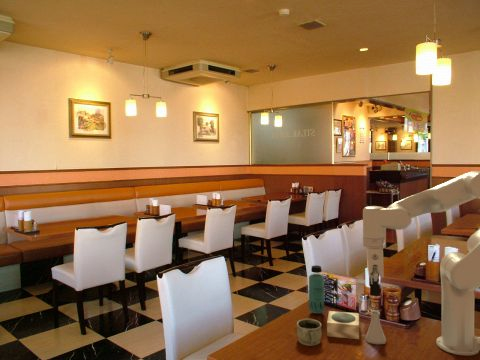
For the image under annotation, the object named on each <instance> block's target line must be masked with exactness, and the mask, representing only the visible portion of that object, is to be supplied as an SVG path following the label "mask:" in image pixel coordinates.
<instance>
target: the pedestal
mask: <svg viewBox="0 0 480 360" xmlns="http://www.w3.org/2000/svg"><path fill="white" fill-rule="evenodd" d="M326 329H327V330H326V331H327V332H326V333H327V337H333V338H344V339H345V338H346V339H353V340H360V313H358V312H347V311H346V312H345V311H334V310H333V311H332V310H328V315H327V321H326Z"/></svg>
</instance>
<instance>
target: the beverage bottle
mask: <svg viewBox="0 0 480 360" xmlns="http://www.w3.org/2000/svg"><path fill="white" fill-rule="evenodd" d="M310 270H311V272H312V273H311V274H309V276H308V311H309V312H311V313H313V314H322V313H324V312H325V308H326V307H325V305H326V304H325V296H326V295H325V277H324V275H323V274H322V267H321V266H320V265H315V264H314V265H311V269H310Z"/></svg>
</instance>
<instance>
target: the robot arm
mask: <svg viewBox="0 0 480 360" xmlns="http://www.w3.org/2000/svg"><path fill="white" fill-rule="evenodd" d="M475 199H480V170H471V171H469V172H466V173H463V174H461V175H458V176H457V177H454V178H452V179H449V180H448V181H445V182H444V183H440V184H438V185H436V186H434V187H432V188H429V189H425V190H423V191H421V192H418V193H415V194H412V195H410V196H407V197H405V198H403V199H401V200H398V201H395V202H394V203H392V204H390V205H388V206H387V207H386V208H385V207H383V206H379V205H378V206H377V205H370V206H368V205H367V206H365V207H364V208H363V209H362V246H363V247H364V248H366V267H367V272H368V286H369V294H370V296H371V297H380V296H381V283H380V278H384V250H383V249H386V248H387V229H391V230H396V231H398V230H399V231H400V230H401V231H402V230H406V229H407V228H409V227H410V225H411V224H412V220H413V219H414V218H417V217H419V216H421V215H426V214H429V213H430V214H431V213H432V214H433V213H443V212H446V211H450V210H451V209H453V208H456V207H458V206H461V205H463V204H466V203H467V202H468V203H469V202H470V201H472V200H475ZM466 247H467V251H468V253H466V254H464V253H462V252H458V251H452V252H449V253H447V254H445V255H444V256H443V257H442V258H441V260H440V263H439V275H440V283H441V284H440V285H441V336H439V337H437V338H436V341H435V342H436V346H437V347H439V348H440V349H441V350H443V351H444V352H447V353H449V354H450V353H451V354H452V355H458V356H470V357H471V356H475V355H477V354H480V353H479V352H480V336H476V335H475V290H477V289H479V288H480V228H478V229H477V230H476V231H475V232H474V233H472V235H470V236H469V238H467V241H466Z"/></svg>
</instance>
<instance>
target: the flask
mask: <svg viewBox="0 0 480 360" xmlns="http://www.w3.org/2000/svg"><path fill="white" fill-rule="evenodd" d="M380 313H381V312H379V311H378V310H371V311H370V317H371V318H370V323H369V326H368V329H367V332H366V335H365V337H364V340H365V341H366V342H367V343H368V344H372V345H385V344H386V342H387V337H386V336H385V335H386V334H385V333H384V330H383V328H382V324H381V321H380V315H381V314H380Z"/></svg>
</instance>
